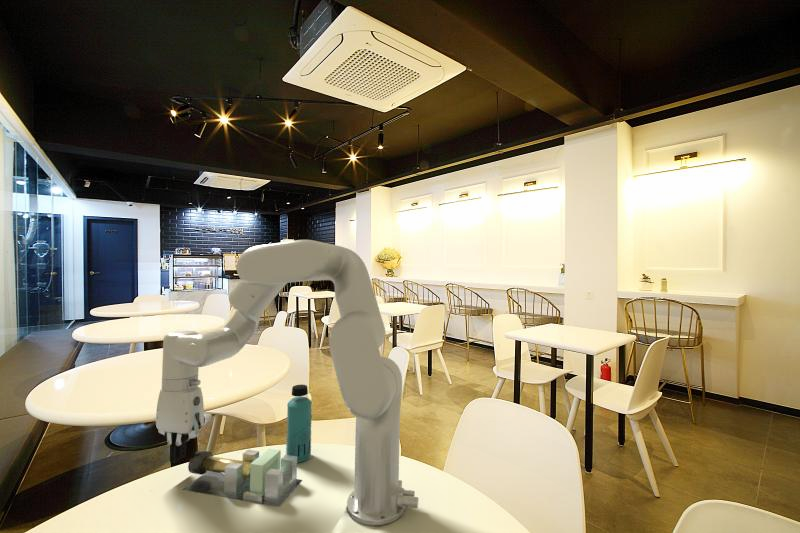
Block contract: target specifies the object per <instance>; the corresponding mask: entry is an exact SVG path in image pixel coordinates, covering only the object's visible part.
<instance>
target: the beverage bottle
mask: <svg viewBox="0 0 800 533" xmlns="http://www.w3.org/2000/svg"><path fill="white" fill-rule="evenodd" d="M308 393H309V391H308V386H307V384H296V385H293V386H292V389H291V396H293V398H291V399H290V400H289V401H288V402H287V413H286V414H287V417H286V420H287V421H286V441H285V442H286V447H285V455H290V456H297V464H298V463H303V462H305V461H308V460H309V459H310V457H311V453H312V418H313V416H312V412H313V411H312V403H313V402H312V401H311V399H310V398H308V397H307V395H308Z"/></svg>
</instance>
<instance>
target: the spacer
mask: <svg viewBox="0 0 800 533" xmlns="http://www.w3.org/2000/svg"><path fill="white" fill-rule="evenodd" d="M281 453H282V452H281V449H275V448H268V449H266V451H265V452H263V453H262V454H261V455H259V457H258V458H257V459H256V460H255V461H253V462H252V463H251V465H250V492H254V493H259V494H264V496H265V473H266V472H267V471H268V470H269V469H271V468H272V469H279V470H281V455H282V454H281Z"/></svg>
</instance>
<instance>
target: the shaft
mask: <svg viewBox="0 0 800 533" xmlns="http://www.w3.org/2000/svg"><path fill="white" fill-rule="evenodd" d="M231 462H233V463H239V464H243V475H242V477H247V478H250V465H251V463H252V462H245V461H243V460H239V459H238V460H237V459H231V458H224V457H219V456H218V457H217V456H213V453H212V452H211V451H207V450H199V449H198V450H197V451H195V452H194V453H193V454H192V455H191V457H190V459H189V462H188V464H187V465H188V466H187V469H188V472H189V473H191V474H194V475H200V476H202V475H203V474H205V473H206V472H207V471H211V472H217V473H223V474H225V466H227V465H228V464H229V463H231Z"/></svg>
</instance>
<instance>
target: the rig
mask: <svg viewBox="0 0 800 533" xmlns="http://www.w3.org/2000/svg"><path fill="white" fill-rule="evenodd" d="M258 457H260V451H259V450H254V449H247V450H246V451H244V452H243V453H242V461H245V462H253V461H255V460H256V459H257V458H258ZM297 469H298V463H297V456H290V455H286V454H285V455H284V456H282V457H281V458H280V470H279V469H272V468H271V469H269V470H268V471H267V472H266V473H265V496H264V494H259V493H254V492H250V478H247V477H242V475H243V464H239V463H233V462H231V463H229V464H228V465H227V466H225V474H223V473H217V472H211V471H207V472H206V473H205V474H203V475H200V476H199V477H198V478H196V479H195V480H194V481H192V482H191V483H189V484H187V486H185V487H183V488H182V490H183V491H189V492H194V493H199V494H203V495H210V496H215V497H220V498H227V499H231V500H238V501H243V502H249V503H253V504H261V505H266V506H272V507H276V508H279V507H281V505H282V504H283V503H284V502H285V501H286V500H287V498H289V496H290V495H291V494H292V493H293V492H294V490H295V489H296V488H297V487H298V486H299V484H301V482H303V479H298V478H297V474H298V473H297V472H298V470H297Z"/></svg>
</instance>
